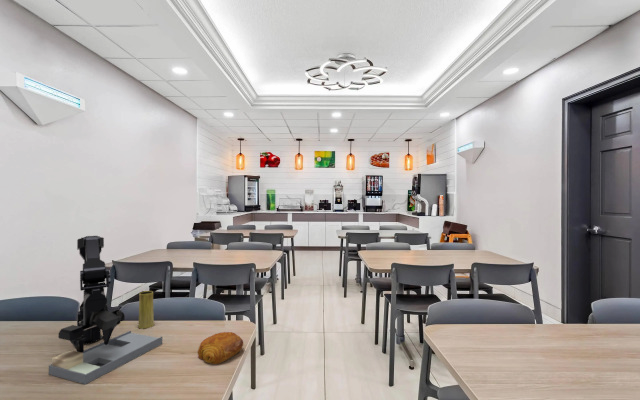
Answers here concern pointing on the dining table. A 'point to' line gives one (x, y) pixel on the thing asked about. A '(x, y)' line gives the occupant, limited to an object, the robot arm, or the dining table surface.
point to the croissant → (220, 347)
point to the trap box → (107, 357)
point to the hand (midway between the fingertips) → (94, 349)
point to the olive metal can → (146, 310)
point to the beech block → (68, 359)
